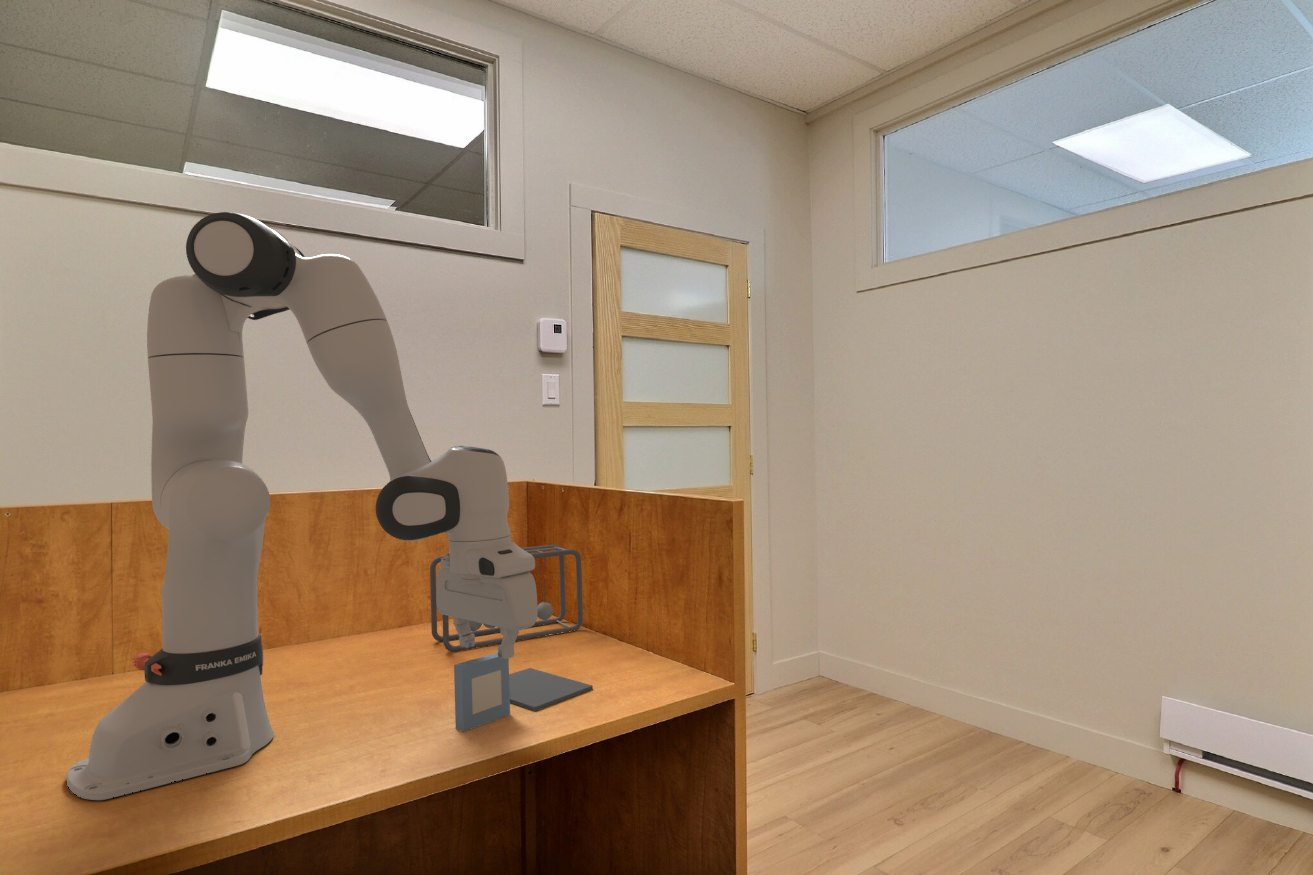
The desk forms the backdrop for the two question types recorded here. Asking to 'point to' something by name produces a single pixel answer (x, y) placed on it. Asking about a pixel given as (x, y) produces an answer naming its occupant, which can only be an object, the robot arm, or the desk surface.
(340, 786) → the desk surface
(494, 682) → the tile
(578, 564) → the newton's cradle
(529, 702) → the mat
